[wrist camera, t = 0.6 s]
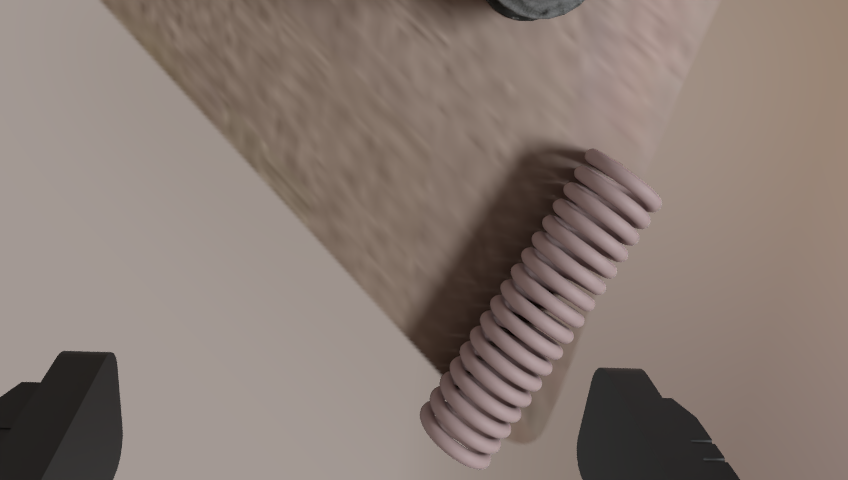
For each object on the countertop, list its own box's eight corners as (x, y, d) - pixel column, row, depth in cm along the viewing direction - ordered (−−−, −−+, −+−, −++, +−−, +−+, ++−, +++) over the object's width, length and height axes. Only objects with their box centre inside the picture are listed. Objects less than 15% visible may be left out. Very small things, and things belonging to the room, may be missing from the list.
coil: (603, 141, 34) (406, 446, 36) (685, 193, 34) (484, 492, 36) (584, 141, 38) (411, 411, 41) (657, 187, 39) (480, 453, 41)
